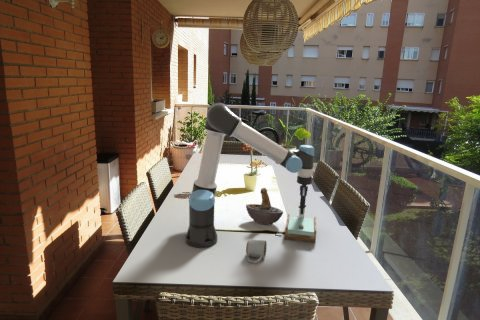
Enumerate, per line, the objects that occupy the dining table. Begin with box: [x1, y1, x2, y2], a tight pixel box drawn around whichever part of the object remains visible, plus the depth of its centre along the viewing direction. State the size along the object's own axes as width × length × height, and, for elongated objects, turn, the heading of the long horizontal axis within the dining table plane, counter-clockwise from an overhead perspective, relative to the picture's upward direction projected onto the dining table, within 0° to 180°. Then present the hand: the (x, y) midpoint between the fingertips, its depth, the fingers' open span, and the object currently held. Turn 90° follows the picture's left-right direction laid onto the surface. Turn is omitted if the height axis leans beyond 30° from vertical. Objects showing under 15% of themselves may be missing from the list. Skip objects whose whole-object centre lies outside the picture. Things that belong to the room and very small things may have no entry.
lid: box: [287, 215, 314, 236], centre depth 172 cm, size 17×12×3 cm
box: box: [284, 213, 317, 244], centre depth 176 cm, size 18×15×6 cm
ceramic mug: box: [245, 239, 268, 264], centre depth 150 cm, size 11×8×8 cm
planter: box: [245, 187, 284, 225], centre depth 186 cm, size 15×17×20 cm
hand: (301, 219), depth 181 cm, fingers closed
